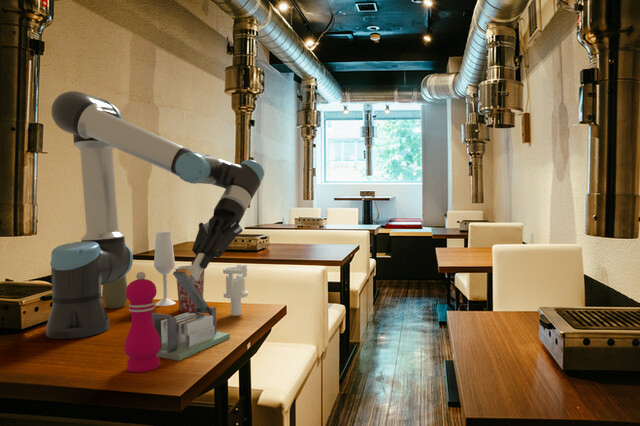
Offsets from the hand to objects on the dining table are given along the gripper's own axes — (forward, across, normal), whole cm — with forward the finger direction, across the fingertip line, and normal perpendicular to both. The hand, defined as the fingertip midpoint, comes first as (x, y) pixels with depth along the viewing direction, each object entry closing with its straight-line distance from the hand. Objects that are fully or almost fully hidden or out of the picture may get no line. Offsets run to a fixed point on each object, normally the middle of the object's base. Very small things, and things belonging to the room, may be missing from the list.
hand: (191, 277), depth 117 cm
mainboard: (+13, 0, -10) cm, 16 cm away
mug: (-9, +26, -32) cm, 42 cm away
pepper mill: (+23, -1, +1) cm, 23 cm away
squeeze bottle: (-4, +51, -26) cm, 58 cm away
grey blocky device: (+12, 0, -9) cm, 15 cm away
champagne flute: (-11, +39, -34) cm, 53 cm away
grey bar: (+3, 0, -3) cm, 4 cm away
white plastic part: (-8, +8, -31) cm, 34 cm away
